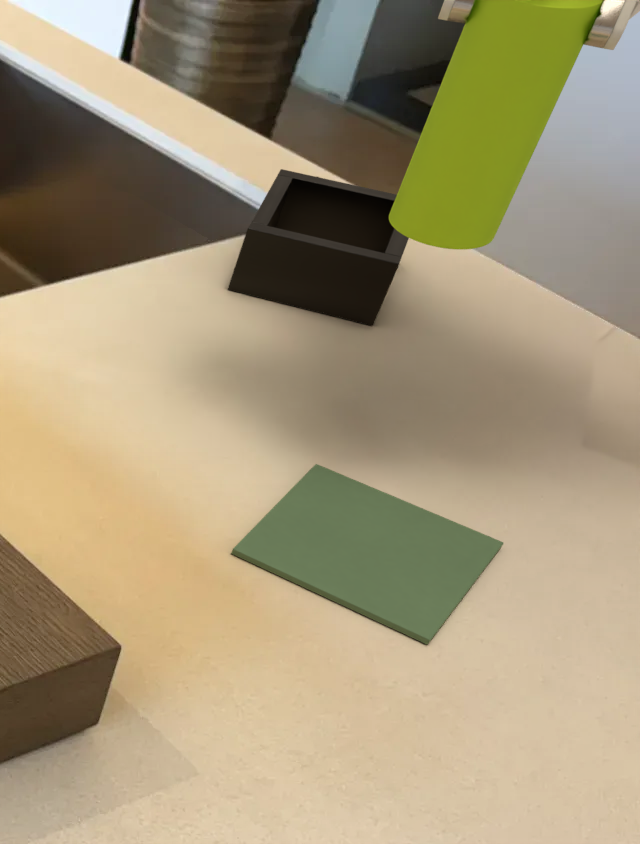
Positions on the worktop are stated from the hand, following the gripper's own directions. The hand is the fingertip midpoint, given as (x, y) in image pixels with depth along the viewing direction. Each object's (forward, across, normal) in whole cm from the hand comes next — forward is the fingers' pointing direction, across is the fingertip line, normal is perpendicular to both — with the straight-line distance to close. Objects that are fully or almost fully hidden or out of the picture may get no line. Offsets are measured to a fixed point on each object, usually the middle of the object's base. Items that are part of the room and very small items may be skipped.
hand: (527, 29), depth 72 cm
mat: (+26, +3, +11) cm, 29 cm away
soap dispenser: (+8, 0, +9) cm, 12 cm away
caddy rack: (+2, -6, +35) cm, 36 cm away
